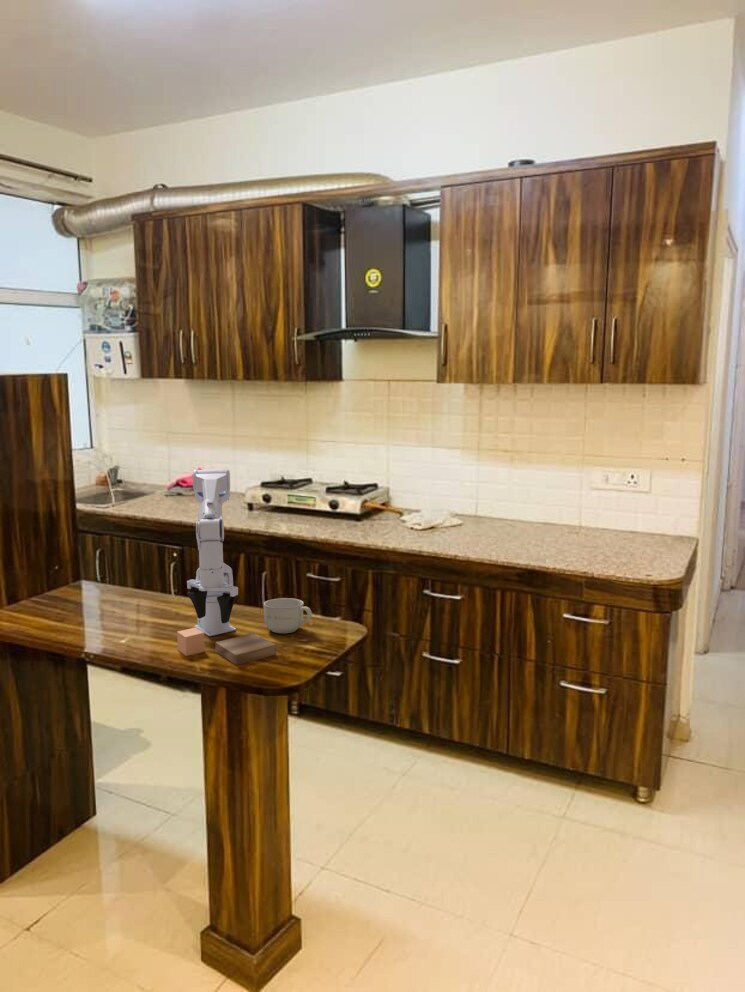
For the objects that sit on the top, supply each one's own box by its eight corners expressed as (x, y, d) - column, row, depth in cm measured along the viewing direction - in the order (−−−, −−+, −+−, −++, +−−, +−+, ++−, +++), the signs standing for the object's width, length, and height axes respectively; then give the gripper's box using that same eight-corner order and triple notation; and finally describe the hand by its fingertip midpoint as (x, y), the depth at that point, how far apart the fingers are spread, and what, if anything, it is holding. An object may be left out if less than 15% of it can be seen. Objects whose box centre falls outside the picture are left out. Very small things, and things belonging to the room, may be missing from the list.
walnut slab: (215, 653, 191) (215, 642, 190) (254, 643, 197) (253, 632, 197) (236, 666, 182) (236, 655, 182) (275, 656, 189) (275, 644, 188)
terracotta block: (177, 650, 192) (176, 631, 191) (196, 646, 195) (195, 627, 194) (186, 656, 188) (185, 637, 187) (204, 651, 191) (204, 632, 190)
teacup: (256, 631, 205) (255, 603, 204) (284, 620, 214) (283, 593, 213) (293, 642, 197) (292, 613, 196) (321, 631, 205) (320, 603, 204)
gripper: (177, 566, 185) (180, 619, 188) (224, 574, 179) (226, 629, 181) (197, 560, 192) (199, 611, 194) (242, 567, 185) (244, 620, 187)
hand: (213, 619), depth 188 cm, fingers open, 7 cm apart
